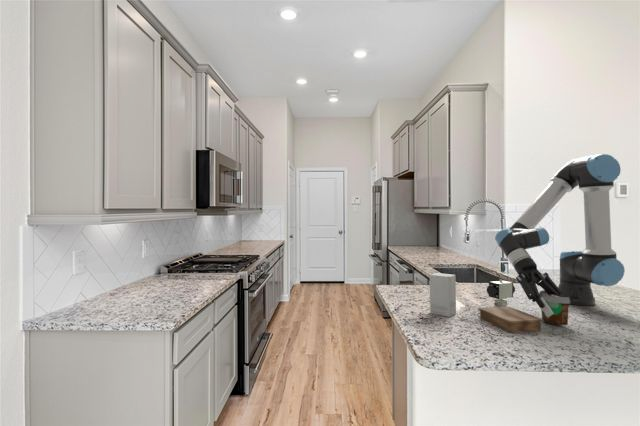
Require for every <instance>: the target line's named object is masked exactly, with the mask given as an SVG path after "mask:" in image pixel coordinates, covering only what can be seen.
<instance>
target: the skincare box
mask: <svg viewBox="0 0 640 426" xmlns="http://www.w3.org/2000/svg"><path fill="white" fill-rule="evenodd" d="M456 282H457V281H456V274H449V273H441V272H440V273H439V272H436V273H432V274H430V275H429V305H430V306H429V308H430V309H429V310H430V311H429V312H430V314H432V315H438V316H443V317H447V318H451V317H452V316H455V315H456V314H457V297H456V295H457V290H456V289H457V288H456V285H457V284H456Z"/></svg>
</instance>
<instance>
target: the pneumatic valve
mask: <svg viewBox="0 0 640 426" xmlns="http://www.w3.org/2000/svg"><path fill="white" fill-rule="evenodd" d="M515 292H516V287H515V285H514V282H513V281H508V280H507V281H506V280H503V279H499V280H498V281H497V280H496V281H495V280H494V281H488V285H487V287H486V294H488V297H489V298H492V299H494V303H493V307H508V301H507V300H506V299H509V298H514V293H515Z"/></svg>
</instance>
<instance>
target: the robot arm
mask: <svg viewBox="0 0 640 426" xmlns="http://www.w3.org/2000/svg"><path fill="white" fill-rule="evenodd" d="M620 175H621V165H620V163H619V161H618V159H616V158H615V157H614V156H612V155H611V154H607V153H600V154H599V153H596V154H592V155H588V156H583V157H577V158H574V159H571V160H570V161H568V162H566V164H564V165H563V166H562V167H561V168H560V169H559V170H558V171H557V172H555V174H554V175H553V176H552V178H551V179H550V183H549V184H548V185H547V186H546V188H545V189H543V191H542V192H541V193H540V194H539V195H538V197H537V198H536V199H535V200H534V201H533V202H532V203H531V204H530V206H528V208H527V209H526V210H525V211H523V213H522V214H521V215H520V217H519V218H518V219H517V220H515V222H514V223H512V225H511V226H508V227H506V228H503V229H501V230H500V231H498V232H497V233H496V234H495V236H494V237H495V238H494V239H495V240H494V241H496V244H497V245H498V247H499V248H500V250H501V251H502V252H503V254H504V256H505V257H506V258H507V259H508V261H509V263H510V264H511V265H512V267H513V268H514V270H515V272H516V274H517V276H516V277H515V280H516V281H517V282H518V284H520V286H521V288H522V290H523V292H524V293H525V296H526V297H527V298H528V300H529V301H532V303H536V304H537V306H538V307H539V309H540V310H541V309H542V310H543V312H544V313H545V315H546V316H547V317H550V316H551V315H553V314H554V313H553V311H552V310H551V309H550V307H549V306H548V304H547V303H546V301H545V300H544V298H543V297H541V298H540V295H539V293H540V291H539V289H538V287H537V286H539V287H540V288H542V290H543V291H544V290H545V291H546V292H547V293H549V294H553V295H558V296H560V297H569V299H570V304H569V305H576V306H594V305H596V298H595V297H594V292H593V290H592V286H591V284H593V285H597V286H603V287H613V286H616V285H617V284H618V283H619V282H620V281H622V279H623V278H624V275H625V271H626V270H625V265H624V264H623V263H622V262H621V260H619V259H617V252H616V251H615V250H614V249H612V230H611V208H610V207H611V205H610V203H611V201H610V190H612V189H613V187H614V184H615V183H614V181H615V180H617V179H618V177H619V176H620ZM577 187H578V189H579V190H581V192H583V211H584V234H585V235H584V238H585V240H584V241H585V248H584V249H583V250H575V251H573V250H568V251H567V250H566V251H561V252H560V254H559V255H560V256H559V283H558V286H557V284H556V283H555V282H554V281H553V279H552V278H551V277H550V275H549V274H548V272H547V271H546V272H544V273H542V272H541V271H540V270H539V269H538V266H537V263H536V262H535V261H534V259H533V258H532V257H531V255H530V254H529V252H528V251H527V250H528V249H532V248H537V247H541V246H544V245H547V244H548V243H549V242H550V233H549V232H548V230H547V229H545V228H544V227H542V226H540V227H537V226H538V225H539V223H540V222H541V221H543V219H544V218H545V217H546V216H547V214H548V213H549V212H550V211H552V209H554V207H555V205H557V203H558V202H560V200H561V199H562V198H563V197H564V196H565V195H566V194H567V193H571V192H572V191H573V190H574V189H575V188H577ZM570 313H571V311H570V310H568V314H570Z"/></svg>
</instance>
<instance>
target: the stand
mask: <svg viewBox="0 0 640 426" xmlns="http://www.w3.org/2000/svg"><path fill="white" fill-rule="evenodd" d="M478 310H479V311H480V315H479V318H480V320H482V321H484V322H487V323H489V324H490V323H491V325H493V326H495V327H497V328H499V329H501V330H503V331H505V332H507V333H524V332H525V333H526V332H527V333H529V332H541V331H542V322H544V321H543V319H542V317H541V318H540V317H538V316H535V315H532V314H530V313H526V312H524V311H522V310H519V309H518V308H514V307H512V306H506V307H494V306H493V307H492V306H489V307H485V306H484V307H478Z"/></svg>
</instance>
